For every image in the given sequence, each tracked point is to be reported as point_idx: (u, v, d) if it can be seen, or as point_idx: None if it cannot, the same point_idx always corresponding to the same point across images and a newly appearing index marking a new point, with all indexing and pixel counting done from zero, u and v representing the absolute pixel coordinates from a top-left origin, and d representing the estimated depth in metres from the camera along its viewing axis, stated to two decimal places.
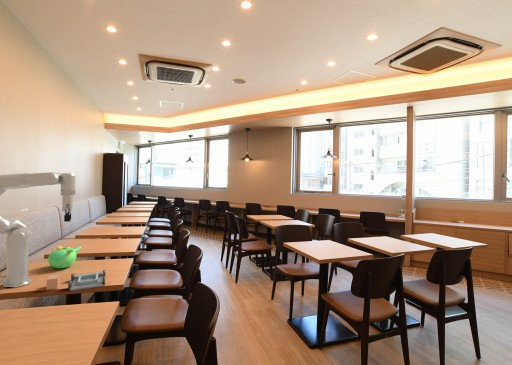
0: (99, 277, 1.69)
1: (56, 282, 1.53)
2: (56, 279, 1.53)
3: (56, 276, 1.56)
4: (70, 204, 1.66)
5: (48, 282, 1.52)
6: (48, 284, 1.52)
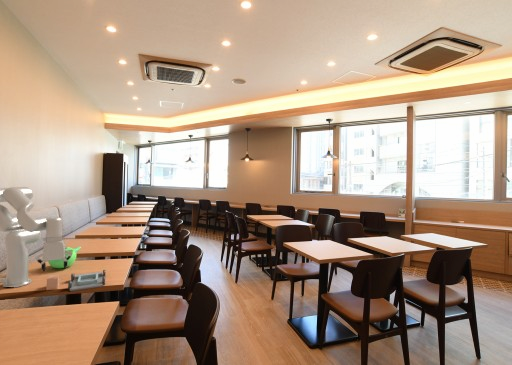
0: (99, 277, 1.69)
1: (56, 282, 1.53)
2: (56, 279, 1.53)
3: (56, 276, 1.56)
4: None
5: (48, 282, 1.52)
6: (48, 284, 1.52)
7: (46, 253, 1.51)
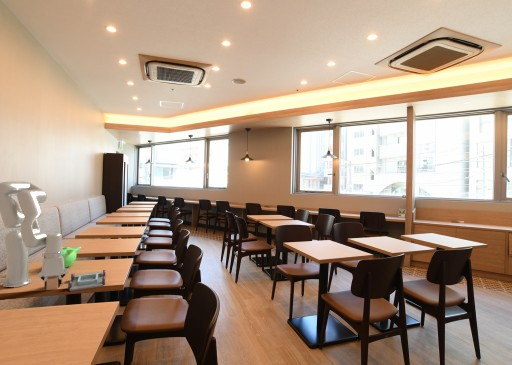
0: (99, 277, 1.69)
1: (56, 282, 1.53)
2: (56, 279, 1.53)
3: (56, 276, 1.56)
4: None
5: (48, 282, 1.52)
6: (48, 284, 1.52)
7: (45, 269, 1.51)
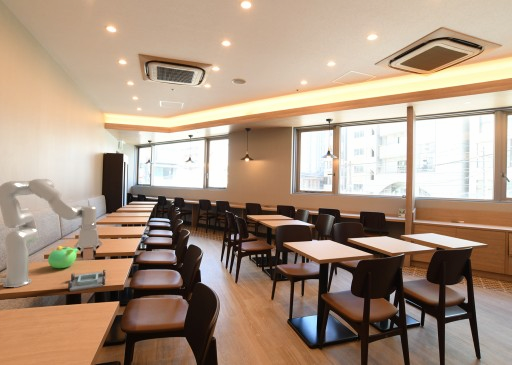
0: (99, 277, 1.69)
1: (92, 252, 1.61)
2: (92, 249, 1.61)
3: (91, 247, 1.64)
4: None
5: (84, 252, 1.59)
6: (84, 254, 1.59)
7: (81, 239, 1.59)
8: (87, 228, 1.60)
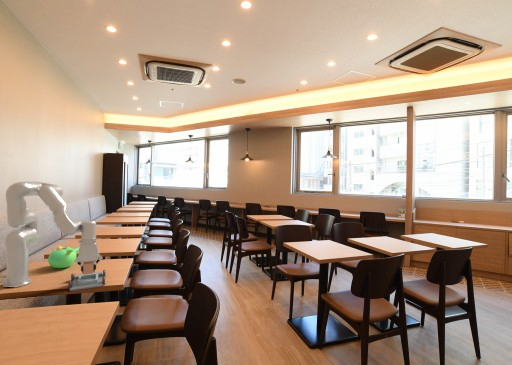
0: (99, 277, 1.69)
1: (92, 267, 1.61)
2: (92, 264, 1.61)
3: (91, 261, 1.64)
4: None
5: (85, 267, 1.60)
6: (85, 269, 1.60)
7: (81, 254, 1.59)
8: (87, 243, 1.60)
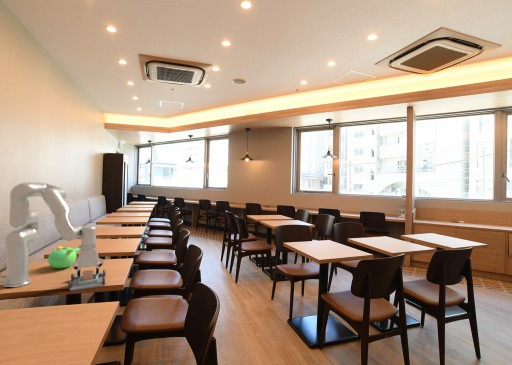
0: (99, 277, 1.69)
1: (91, 276, 1.61)
2: (91, 273, 1.61)
3: (90, 270, 1.64)
4: None
5: (84, 276, 1.60)
6: (84, 277, 1.60)
7: (81, 260, 1.59)
8: (87, 248, 1.60)
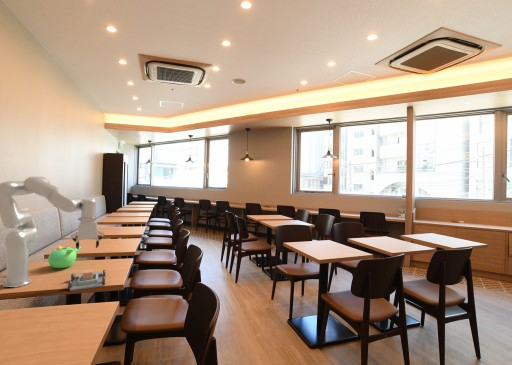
0: (99, 277, 1.69)
1: (91, 276, 1.61)
2: (91, 273, 1.61)
3: (90, 270, 1.64)
4: None
5: (84, 276, 1.60)
6: (84, 277, 1.60)
7: (80, 232, 1.60)
8: (86, 221, 1.60)
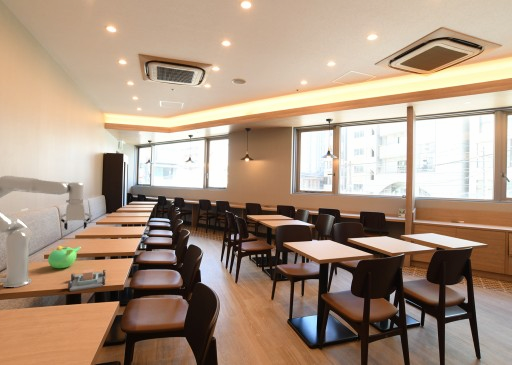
0: (99, 277, 1.69)
1: (91, 276, 1.61)
2: (91, 273, 1.61)
3: (90, 270, 1.64)
4: None
5: (84, 276, 1.60)
6: (84, 277, 1.60)
7: (68, 213, 1.68)
8: (74, 202, 1.68)
